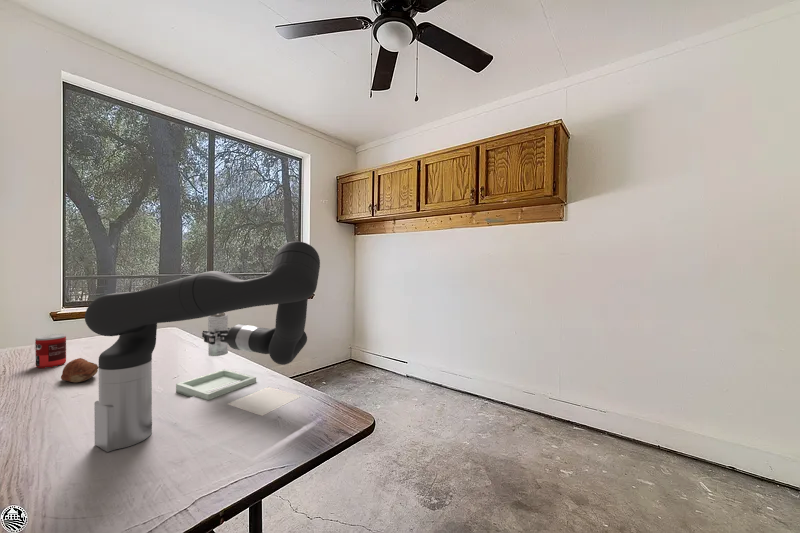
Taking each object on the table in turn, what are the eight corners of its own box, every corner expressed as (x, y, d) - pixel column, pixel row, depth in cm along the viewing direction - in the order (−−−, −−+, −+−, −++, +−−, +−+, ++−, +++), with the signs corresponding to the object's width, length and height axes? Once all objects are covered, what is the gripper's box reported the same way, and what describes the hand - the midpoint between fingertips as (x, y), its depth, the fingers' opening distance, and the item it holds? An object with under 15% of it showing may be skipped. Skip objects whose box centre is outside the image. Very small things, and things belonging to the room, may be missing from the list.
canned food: (42, 363, 125) (42, 334, 125) (70, 361, 128) (70, 333, 128) (30, 369, 118) (30, 339, 118) (60, 367, 122) (60, 337, 121)
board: (261, 419, 84) (261, 415, 84) (226, 407, 91) (226, 403, 91) (301, 399, 96) (301, 396, 96) (268, 390, 103) (268, 386, 103)
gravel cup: (215, 357, 100) (215, 314, 100) (204, 354, 103) (204, 312, 102) (231, 352, 105) (231, 311, 104) (221, 350, 107) (220, 310, 107)
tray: (207, 403, 93) (207, 394, 93) (176, 392, 100) (176, 383, 100) (256, 384, 107) (256, 377, 107) (225, 376, 115) (225, 368, 115)
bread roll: (56, 368, 110) (76, 343, 111) (86, 372, 117) (105, 349, 118) (54, 392, 102) (76, 365, 103) (87, 395, 108) (107, 370, 109)
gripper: (268, 321, 103) (233, 317, 111) (225, 329, 90) (189, 324, 98) (268, 345, 103) (233, 339, 111) (225, 357, 90) (189, 349, 98)
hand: (213, 332), depth 105 cm, fingers closed on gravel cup, 5 cm apart
